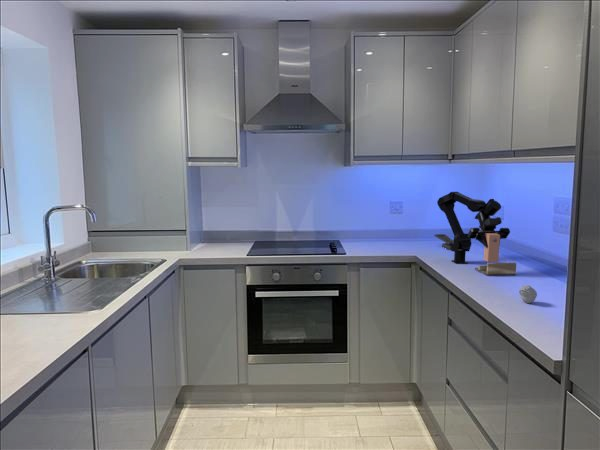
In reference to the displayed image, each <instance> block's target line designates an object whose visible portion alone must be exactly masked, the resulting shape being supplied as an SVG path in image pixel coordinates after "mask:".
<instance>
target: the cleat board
mask: <svg viewBox="0 0 600 450" xmlns="http://www.w3.org/2000/svg"><path fill="white" fill-rule="evenodd" d="M474 271H476V272H478V273H480V274H482V275H484V276H487V277H497V276H500V277H502V276H503V277H505V276H507V277H509V276H516V273H517V262H487V263H486V265H482V264H481V265H478V266H477V267H474Z"/></svg>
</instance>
